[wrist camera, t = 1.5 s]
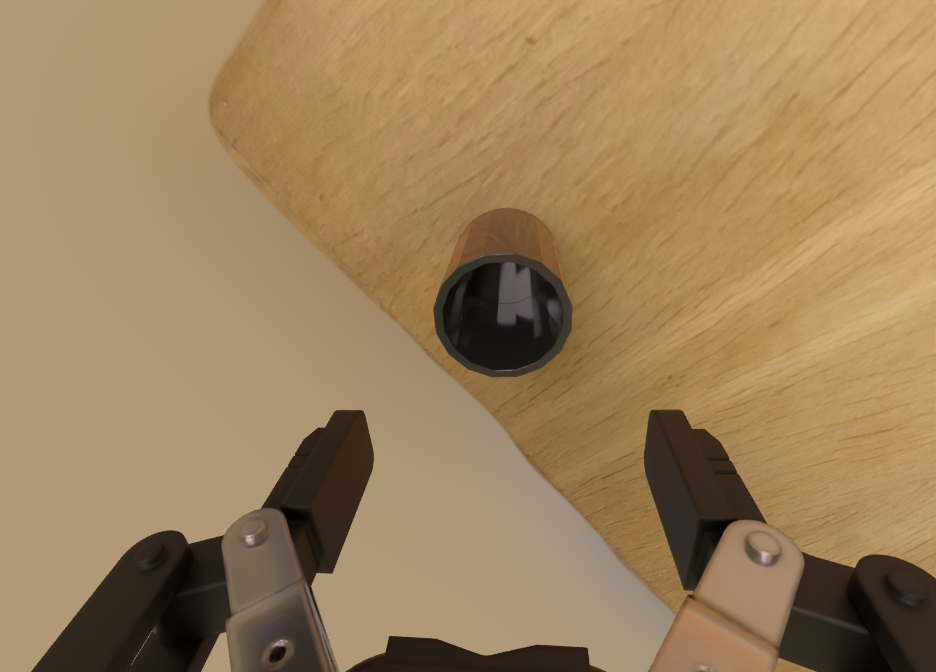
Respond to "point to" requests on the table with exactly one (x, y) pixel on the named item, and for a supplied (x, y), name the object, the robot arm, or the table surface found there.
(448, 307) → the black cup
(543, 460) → the table surface
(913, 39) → the table surface
